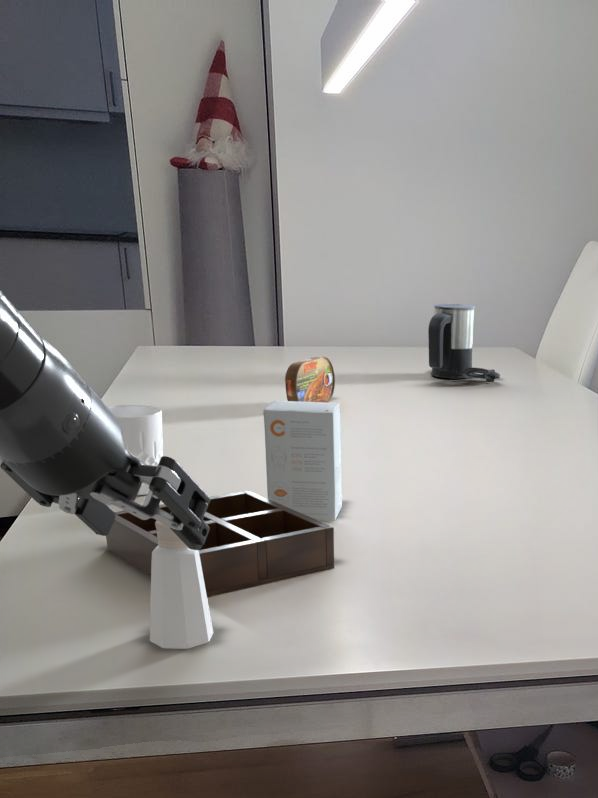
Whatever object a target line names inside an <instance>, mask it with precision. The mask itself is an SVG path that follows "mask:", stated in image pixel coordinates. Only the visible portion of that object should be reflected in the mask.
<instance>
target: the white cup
mask: <svg viewBox="0 0 598 798" xmlns="http://www.w3.org/2000/svg"><path fill="white" fill-rule="evenodd" d="M107 407H108V408H109V409H110V411H111V412H112V413H113V414H114V415H115V417H116V418H117V420H118V422H119V425H120V429H121V433H122V439H123V443H124V447H125V449H126V450H127V451H128V452H130V453H131V454H132V455H134V456H136V457H137V458H139V459H140V460H141V461H142V462H143V463H144V465H151V466H158V464H159V461H160V459H161V457H162V456H164V438H163V436H164V435H163V410H162V409H161V408H159V407H156V406H152V405H143V404H118V405H110V406H109V405H108V406H107ZM149 490H150V489H149V485H148V484H145V483H142V484H141V487H140V490H139V492H138V494H137V497H139V496H147V494H148V492H149Z"/></svg>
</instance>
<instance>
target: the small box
mask: <svg viewBox="0 0 598 798" xmlns="http://www.w3.org/2000/svg"><path fill="white" fill-rule="evenodd" d="M340 408H341V407H340V402H328V403H323V402H296V401H288V400H274V401H272V402H271V403H269V405H268V406H267V407H266V408H264V409H263V411H262V413H263V427H264V444H265V445H264V446H265V469H266V470H265V471H266V489H267V490H266V491H267V492H266V493H267V499H269V500H272V501H274V502H276V503H279V504H281V505H283V506H286V507H288V508H290V509H293V510H295V511H297V512H299V513H302V514H304V515H306V516H309V517H311V518H313V519H316V520H318V521H322V522H323V521H324V522H326V521H327V522H335V521H336V519H337V517H338V515H339V513H340V511H341V509H342V506H343V491H342V490H343V487H342V485H343V483H342V482H343V481H342V445H341V444H342V443H341V440H342V439H341V409H340Z"/></svg>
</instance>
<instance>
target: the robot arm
mask: <svg viewBox="0 0 598 798" xmlns="http://www.w3.org/2000/svg"><path fill="white" fill-rule="evenodd" d="M0 460H1V463H0V469H1V470H2V471H3V472H4V473H5V474H6V475H8V476H9V477H10V478H11V479H12V481H14V482H15V483H16V484H17V485H18V486H19V487H20V488H21V489H22V490H23V491H24V492H25V493H26V494H27V495H28V496H30V497H31V498H32V500H34V502H36V503H37V504H39V505H40V506H42V507H46V508H51V507H52V506H53V503H54V504H58V505H59V506H58V507H59V510H61V511H63V512H64V513H66V514H71V515H75V516H76V517H77V518H78V519H79V520H80V521H81V522H83V524H85V525H86V526H87V527H88V528H89V529H90V530H91V531H92V532H93V533H94V534H96V536H97V535H98V536H104V537H106V536H107V535H108V534H109V532H110V530H111V527H112V525H113V523H114V520H115V512H116V511H114V510H113V508H111V507H110V506H111V505H112V506H115V507H116V508H119V509H121V510H122V511H126V512H128V513H130V514H132V515H134V516H136V517H138V518H140V519H142V520H147V519H149V518H153V519H155V520H157V521H159V522H161V523H163V524H165V525H167V526H169V527H170V529H171V530H172V531H173V532H174V533H175V534H176V535H177V536H178V537H179V538H180V539H181V540H182V541H183V543H184V544H185V545H186V546H187V547H188V548H189V549H192V550H200V549H201V548H202V545H204V543H205V541H206V538H207V535H208V533H209V530H210V528H209V526H208V525H207V524H206V523H205V521H203V518H204V515H205V513H206V510H207V508H208V505H209V503H210V500H211V499H210V497H211V496H209V494H208V493H206V492H205V491H204V489H203V488H202V487H201V486H200V485H199V483H197V482H196V481H195V480H194V479H193V478H192V476H191V475H190V474H189V473H188V472H187V471H186V470H185V469H184V468H183V467H182V465H181V464H179V462H178V461H177V460H176V459H174V458H172V457H170V456H166V455H163V456H162V457H161V459H160V461H159V464H158V466H151V465H144V463H143V462H142V461H141V460H140V459H139V458H137V457H136V456H134V455H132V454H131V453H130V452H128V451H127V450H126V449H125V447H124V443H123V439H122V433H121V429H120V425H119V422H118V420H117V418H116V417H115V415H114V414H113V413H112V412H111V411H110V409H109V408H108V406H107V405H106V403H104V401H103V400H102V399H101V398H100V396H99V395H97V393H96V391H94V389H92V388H91V386H90V385H89V384H88V383H87V382H86V381H85V380H84V378H83V377H82V376H81V375H80V374H79V373H78V371H77V370H76V369H75V368H74V366H72V364H71V363H70V362H69V360H67V358H66V357H64V356H63V355H62V353H60V352H59V351H58V349H56V347H54V346H53V345H52V344H51V343H49V342H48V341H47V340H46V339H45V338H44V337H42V336H41V335H40V334H39V333H38V331H36V329H35V328H34V327H33V326H32V325H31V323H29V321H28V320H27V319H26V318H25V317H24V316H23V314H22V313H21V312H20V311H19V310H18V308H16V307H15V305H14V304H13V303H12V302H11V301H10V299H8V297H7V296H6V295H5V294H4V292H3V291H2V289H0ZM142 483H145V484H148V485H149V489H150V490H149V492H148V494H147V495H146V496H145V499H144V502H143V504H139V503H138V502H136V501H135V500H136V499H137V497H138V495H137V494H138V492H139V490H140V487H141V484H142ZM161 503H162V504H165V505H166V506H167V507H168V508H169V509H170V510H171V513H170V514H169V513H167V512H165V511H163V510H162V509H160V507H159V505H161Z"/></svg>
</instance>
